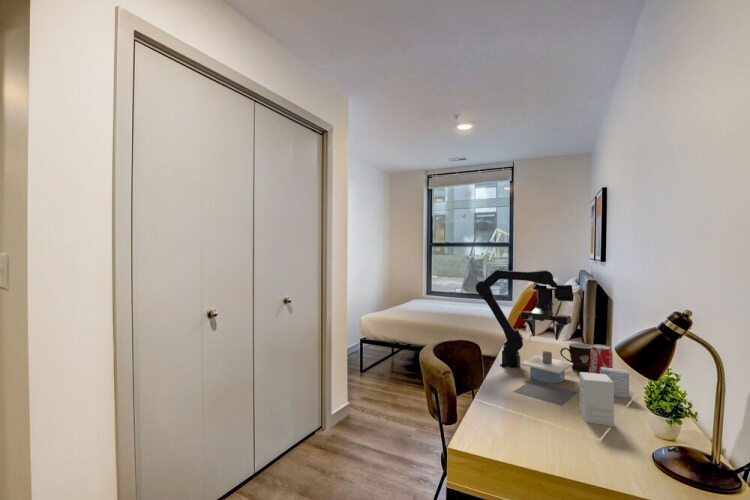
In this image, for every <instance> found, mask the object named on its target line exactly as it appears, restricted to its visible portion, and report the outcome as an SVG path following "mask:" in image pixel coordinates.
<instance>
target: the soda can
mask: <svg viewBox="0 0 750 500" xmlns="http://www.w3.org/2000/svg"><path fill="white" fill-rule="evenodd" d="M591 346H592V348H591V358H590V371H589V373H596V374H600V367H605V368H613V357H614V356H613V351H612V347H611V346H608V345H606V344H601V343H600V344H597V343H596V344H595V343H594V344H591Z"/></svg>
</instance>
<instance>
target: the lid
mask: <svg viewBox="0 0 750 500" xmlns="http://www.w3.org/2000/svg"><path fill="white" fill-rule="evenodd" d="M520 365H521V366H525V367H533V368H537V369H542V370H546V371H551V372H555V373H559V374H560V373H562V372H563V371H567V370H568V369H570V368H572V366H573V363H571V362H569V361H567V360H566V361H565V360H559V359H557V358H556V359H555V358H553V353H552V351H542V356H541V355H535V356H532V357H530V358H528V359H526V360H524V361H522V362H520Z"/></svg>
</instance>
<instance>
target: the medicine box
mask: <svg viewBox="0 0 750 500" xmlns="http://www.w3.org/2000/svg"><path fill="white" fill-rule="evenodd" d="M600 374H606V375H607V376H608V377H609V378H610V379H611V380H612V382H613V383H614V397H619V398H626V399H629V398H630V373H629V372H628V370H626V369H621V368H605V367H600Z"/></svg>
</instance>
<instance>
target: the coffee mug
mask: <svg viewBox="0 0 750 500" xmlns="http://www.w3.org/2000/svg"><path fill="white" fill-rule="evenodd" d="M568 345H569V346H568V347H569V348H567V347H563V348H561V349H560V351H559V353H560V355H561V356H562V358H564V359H565V360H566V361H567V362H571V363H573V366H571V369H572V370H573V371H576V372H578V371H579V373H580V372H584V373H590V358H591V348H592V344H586V343H581V342H571V343H569V344H568ZM565 350H567V351H568V353H569V355H570V357H569V358H570V359H568V357H565V356H564V354H563V353H562V352H563V351H565Z"/></svg>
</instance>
